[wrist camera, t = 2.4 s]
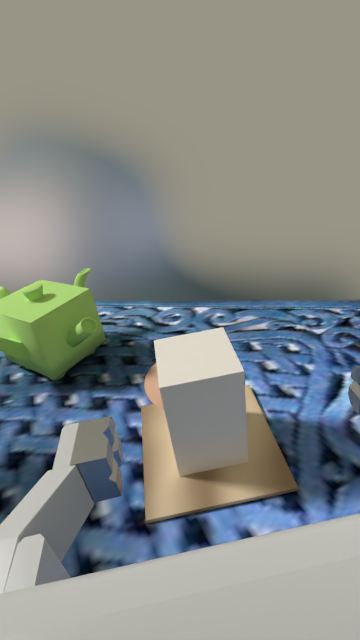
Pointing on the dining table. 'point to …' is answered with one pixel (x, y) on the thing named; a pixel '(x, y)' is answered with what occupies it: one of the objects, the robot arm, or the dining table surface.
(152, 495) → the cork mat
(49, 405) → the dining table surface
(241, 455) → the tall cream pillar
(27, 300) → the kettle
